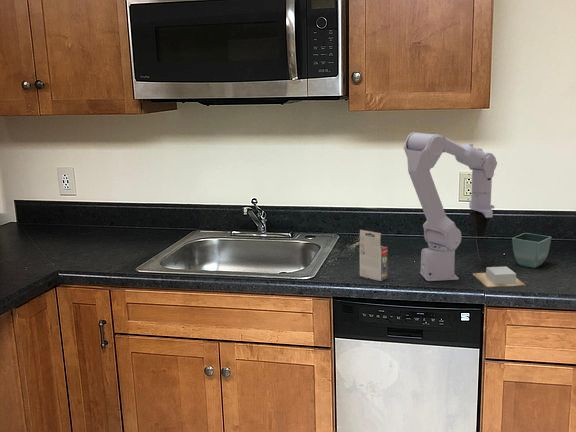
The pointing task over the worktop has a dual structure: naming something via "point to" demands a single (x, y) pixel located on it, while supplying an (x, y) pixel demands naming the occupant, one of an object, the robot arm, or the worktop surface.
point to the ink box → (372, 256)
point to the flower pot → (531, 249)
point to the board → (488, 283)
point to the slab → (500, 275)
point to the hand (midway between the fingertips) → (479, 235)
